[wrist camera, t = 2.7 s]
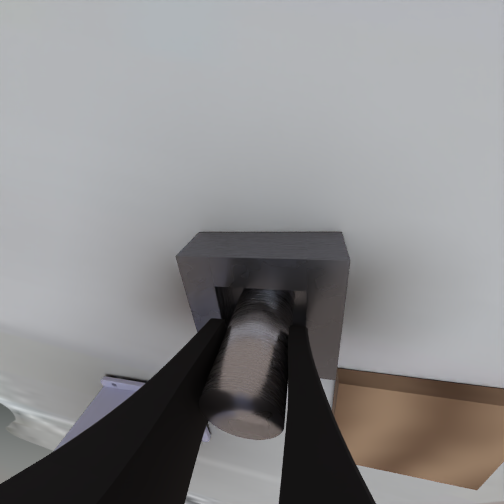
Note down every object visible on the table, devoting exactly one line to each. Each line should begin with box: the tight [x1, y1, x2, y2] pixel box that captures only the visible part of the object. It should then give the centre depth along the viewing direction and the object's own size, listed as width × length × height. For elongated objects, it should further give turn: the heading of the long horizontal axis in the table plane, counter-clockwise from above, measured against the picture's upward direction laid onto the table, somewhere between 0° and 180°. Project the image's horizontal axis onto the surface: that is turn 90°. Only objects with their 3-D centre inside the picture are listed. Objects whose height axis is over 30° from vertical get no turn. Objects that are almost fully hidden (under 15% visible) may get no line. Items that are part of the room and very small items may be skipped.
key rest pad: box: [332, 368, 504, 490], centre depth 16 cm, size 10×10×1 cm
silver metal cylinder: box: [199, 288, 295, 440], centre depth 10 cm, size 3×3×6 cm
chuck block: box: [176, 232, 350, 380], centre depth 12 cm, size 7×7×2 cm
